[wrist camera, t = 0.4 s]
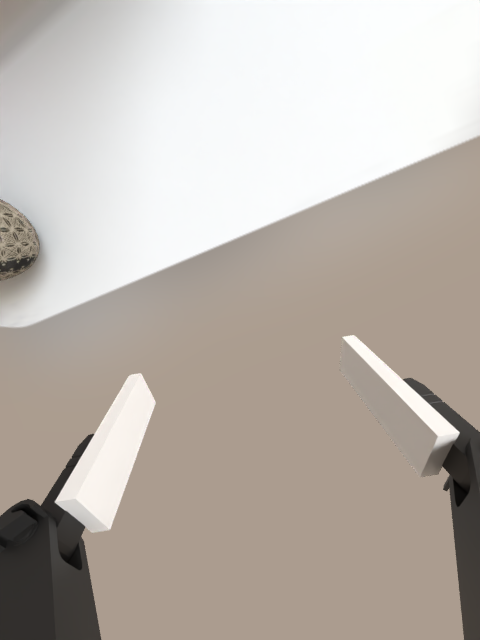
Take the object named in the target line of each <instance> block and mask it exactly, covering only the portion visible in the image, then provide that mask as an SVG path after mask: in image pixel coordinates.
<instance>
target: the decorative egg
mask: <svg viewBox="0 0 480 640" xmlns="http://www.w3.org/2000/svg"><path fill="white" fill-rule="evenodd" d="M38 253H39V239H38V236H37V234H36V231H35V229H34V228H33V226H32V225H31V223H30V222H29V221H28V220H27V218H26V217H25V216H24V215H23V214H21V213H20V212H19V211H18V210H17V209H15V208H14V207H13V206H11V205H10V204H8V203H6V202H5V201H3V200H1V199H0V281H1V280H5V279H8V278H11V277H14V276H16V275H19V274H21V273H22V272H24V271H25V270H27V269H28V268H29V267H30V266H31V265H32V264H33V263H34V261H35V260H36V258H37V256H38Z"/></svg>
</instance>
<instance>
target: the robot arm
mask: <svg viewBox="0 0 480 640" xmlns="http://www.w3.org/2000/svg"><path fill="white" fill-rule="evenodd" d="M340 371H341V373H342V374H343V375H344V377H345V378H346V379H347V380H348V382H349V383H350V385H351V386H352V387H353V389H354V390H355V391H356V393H357V394H358V395H359V397H360V398H361V399H362V401H363V402H364V403H365V405H366V406H367V407H368V409H369V410H370V411H371V413H372V414H373V415H374V417H375V418H376V419H377V421H378V422H379V423H380V425H381V426H382V427H383V429H384V430H385V431H386V433H387V434H388V436H389V437H390V438H391V439H392V441H393V442H394V444H395V445H396V446H397V447H398V449H399V450H400V452H401V453H402V454H403V456H404V457H405V458H406V460H407V461H408V462H409V464H410V465H411V466H412V468H413V469H414V470H415V472H416V473H417V474H418V476H419V477H425V476H431V475H437V474H439V472H440V470H441V468H442V466H443V467H444V468H445V469H446V471H447V472H448V473H449V474H450V476H449V477H448V479H447V481H446V483H445V484H444V488H443V490H445V491H447V490H448V489H449V488H450V498H451V509H452V519H453V529H454V539H455V550H456V560H457V570H458V580H459V591H460V601H461V611H462V621H463V631H464V640H480V432H479V431H478V430H476V429H475V428H474V427H473V426H472V425H470V424H469V423H468V422H467V421H466V420H465V419H463V418H462V417H461V416H460V415H459V414H457V413H456V412H455V411H454V410H453V409H452V408H450V407H449V406H448V405H447V404H446V403H445V402H442V400H441V399H440V398H439V397H437V396H436V395H434V393H433V392H432V391H430V390H429V389H428V388H427V387H426V386H425V385H423V384H421V383H419V382H417V381H416V380H414V379H412V378H407V379H401V378H400V377H399V376H398V375H397V374H396V373H395V372H393V371H392V370H391V369H390V368H389V367H388V366H387V365H386V364H385V363H384V362H383V361H382V360H381V359H379V358H378V357H377V356H376V355H375V354H374V353H373V352H372V351H371V350H370V349H369V348H367V347H366V346H365V345H364V344H363V343H362V342H361V341H360V340H359V339H358V338H357V337H356V336H355V335H351V336H346V337H342V345H341V360H340ZM155 404H156V402H155V400H154V398H153V396H152V394H151V392H150V390H149V388H148V386H147V384H146V382H145V380H144V378H143V376H142V374H141V373H139V374H133V375H129V377H128V378H127V380H126V382H125V384H124V385H123V387H122V388H121V390H120V392H119V394H118V395H117V397H116V399H115V401H114V402H113V404H112V405H111V407H110V409H109V411H108V412H107V414H106V416H105V417H104V419H103V421H102V423H101V424H100V426H99V428H98V429H97V431H96V433H95V434H91V435H88V436H87V437H86V438H85V439H84V440H83V442H82V443H81V444H80V445H79V446H78V448H77V449H76V451H75V452H74V454H73V456H72V459H70V460H69V462H68V463H67V465H66V468H65V469H64V470H63V471H62V473H61V475H60V476H59V478H58V480H57V481H56V483H55V484H54V486H53V487H52V489H51V491H50V492H49V494H48V496H47V497H46V498H45V500H44V502H43V503H42V505H41V506H40V505H38V504H37V503H36V502H35V501H33V500H29V499H27V500H24V501H20V502H19V503H17V504H15V505H14V506H12V507H11V508H9V509H8V510H7V511H6V512H5V513H3V515H1V516H0V640H101V636H100V630H99V624H98V619H97V613H96V607H95V602H94V596H93V591H92V585H91V579H90V573H89V568H88V562H87V557H86V551H85V545H84V541H83V539H82V537H81V535H82V533H83V531H84V529H85V527H86V528H87V529H88V530H89V531H91V532H92V533H94V532H100V531H106V530H110V528H111V525H112V523H113V520H114V517H115V514H116V512H117V508H118V506H119V503H120V500H121V498H122V495H123V492H124V489H125V486H126V484H127V481H128V478H129V476H130V473H131V470H132V467H133V464H134V461H135V459H136V456H137V453H138V450H139V448H140V445H141V442H142V440H143V437H144V434H145V431H146V428H147V426H148V423H149V420H150V417H151V414H152V412H153V409H154V406H155Z"/></svg>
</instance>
